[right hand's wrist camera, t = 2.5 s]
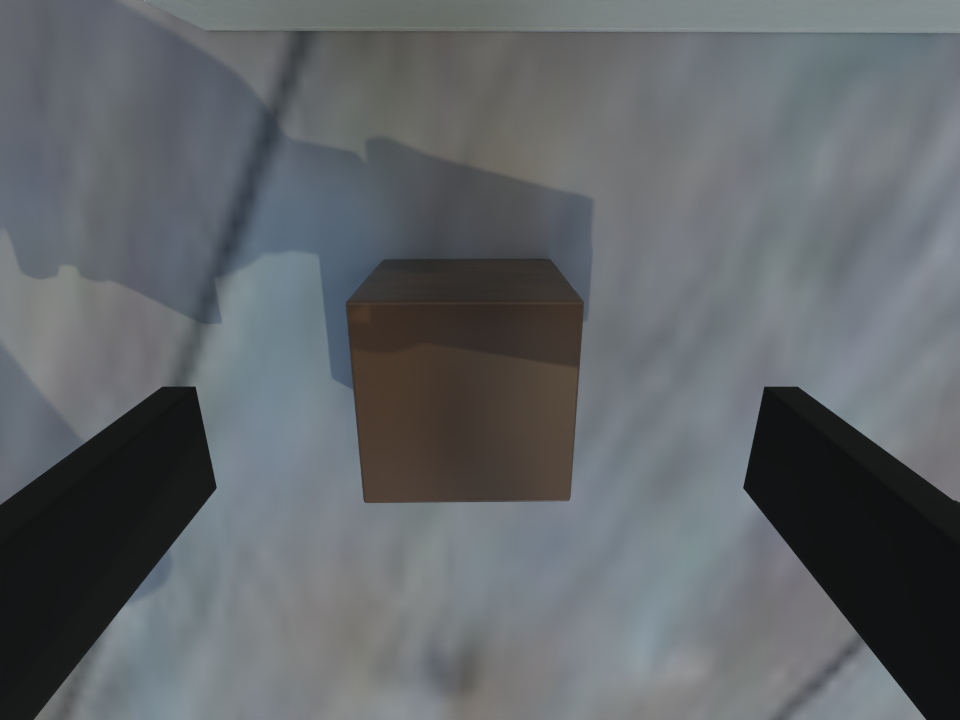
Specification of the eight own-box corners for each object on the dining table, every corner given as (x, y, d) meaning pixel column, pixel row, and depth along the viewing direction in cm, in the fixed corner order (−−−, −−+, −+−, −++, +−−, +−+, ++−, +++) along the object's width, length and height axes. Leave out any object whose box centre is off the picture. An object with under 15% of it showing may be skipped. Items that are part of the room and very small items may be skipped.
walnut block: (392, 412, 21) (363, 504, 15) (382, 259, 19) (344, 301, 13) (544, 410, 21) (570, 502, 15) (551, 258, 19) (584, 300, 13)
